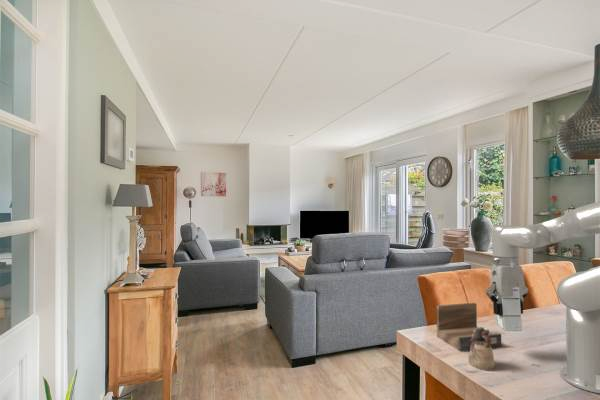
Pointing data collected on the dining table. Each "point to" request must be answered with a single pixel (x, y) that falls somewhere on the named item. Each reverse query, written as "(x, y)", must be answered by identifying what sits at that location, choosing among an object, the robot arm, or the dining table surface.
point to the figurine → (481, 350)
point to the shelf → (460, 325)
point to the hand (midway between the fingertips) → (508, 313)
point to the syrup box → (511, 312)
